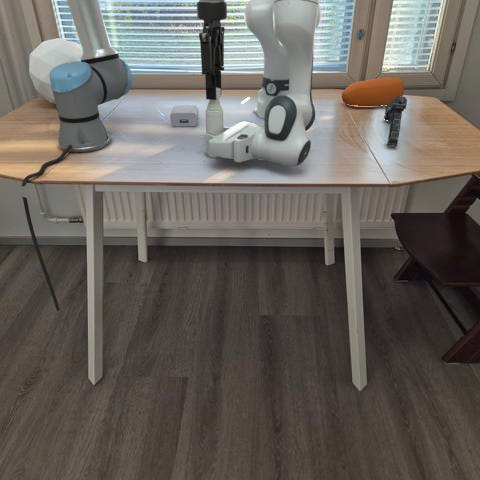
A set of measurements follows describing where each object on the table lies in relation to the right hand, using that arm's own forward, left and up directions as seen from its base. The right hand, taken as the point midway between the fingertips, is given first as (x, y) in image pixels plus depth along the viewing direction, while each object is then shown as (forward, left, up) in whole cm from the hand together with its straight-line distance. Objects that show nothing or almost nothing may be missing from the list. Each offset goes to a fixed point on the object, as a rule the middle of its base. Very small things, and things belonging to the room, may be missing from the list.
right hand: (212, 133), depth 120 cm
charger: (-22, -25, -6) cm, 34 cm away
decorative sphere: (-13, -76, -6) cm, 78 cm away
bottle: (0, +1, -6) cm, 7 cm away
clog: (-76, +28, -6) cm, 81 cm away
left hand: (0, +1, +11) cm, 11 cm away
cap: (0, +1, +12) cm, 12 cm away
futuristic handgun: (-46, +43, -6) cm, 63 cm away
